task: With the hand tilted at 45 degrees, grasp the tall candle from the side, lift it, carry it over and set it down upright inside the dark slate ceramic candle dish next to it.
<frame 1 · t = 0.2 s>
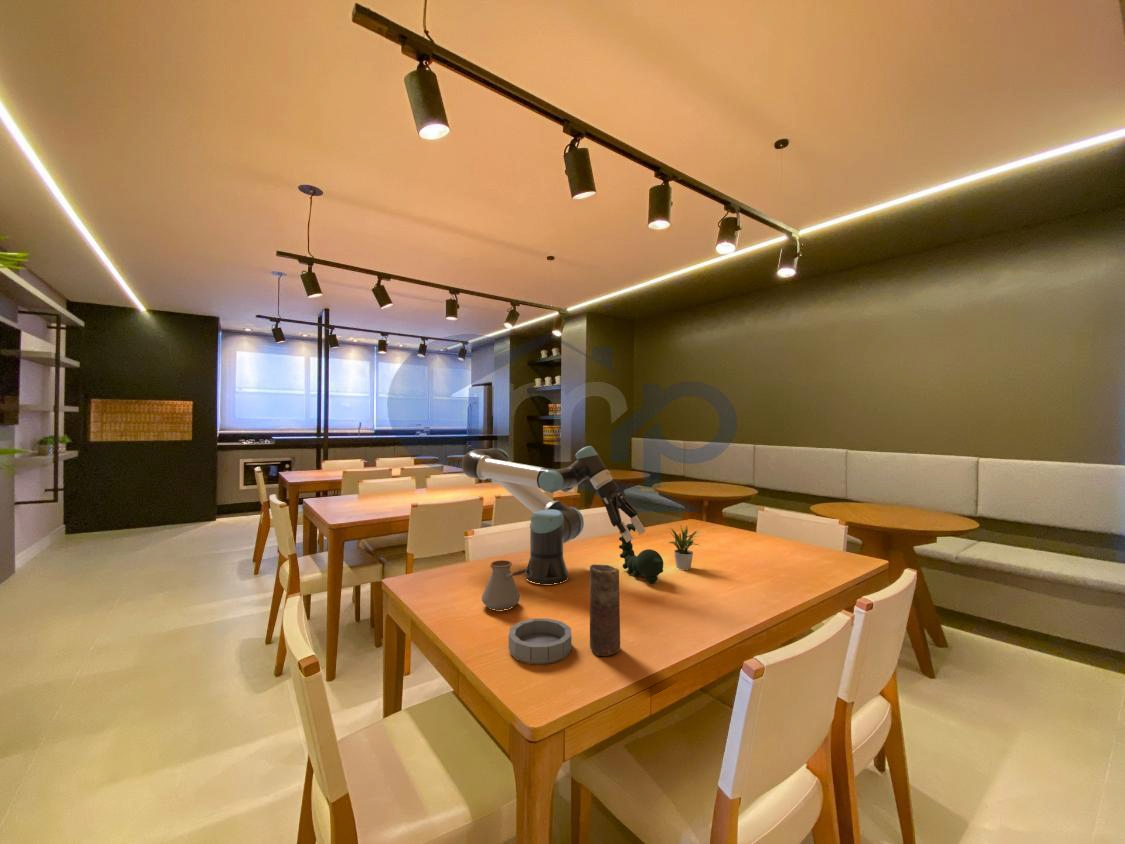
hand: (636, 536, 156), 16 cm above the table, tool tilted 35°, fingers open, 13 cm apart
house plant: (685, 569, 170), on the table
candle: (604, 650, 108), on the table
coffee pot: (509, 612, 129), on the table
toy figurine: (641, 577, 160), on the table
candle dish: (540, 648, 108), on the table
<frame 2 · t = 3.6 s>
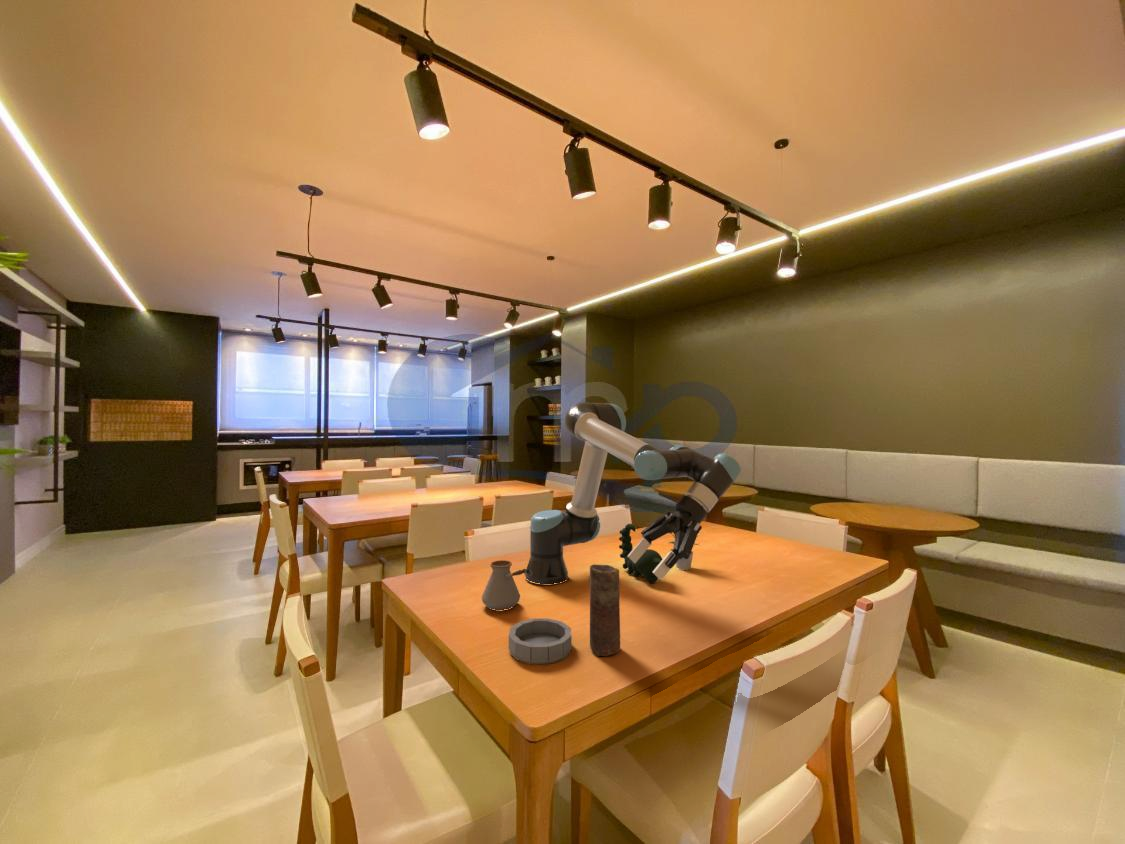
hand: (643, 567, 111), 19 cm above the table, tool tilted 45°, fingers open, 13 cm apart
nothing on the table moved.
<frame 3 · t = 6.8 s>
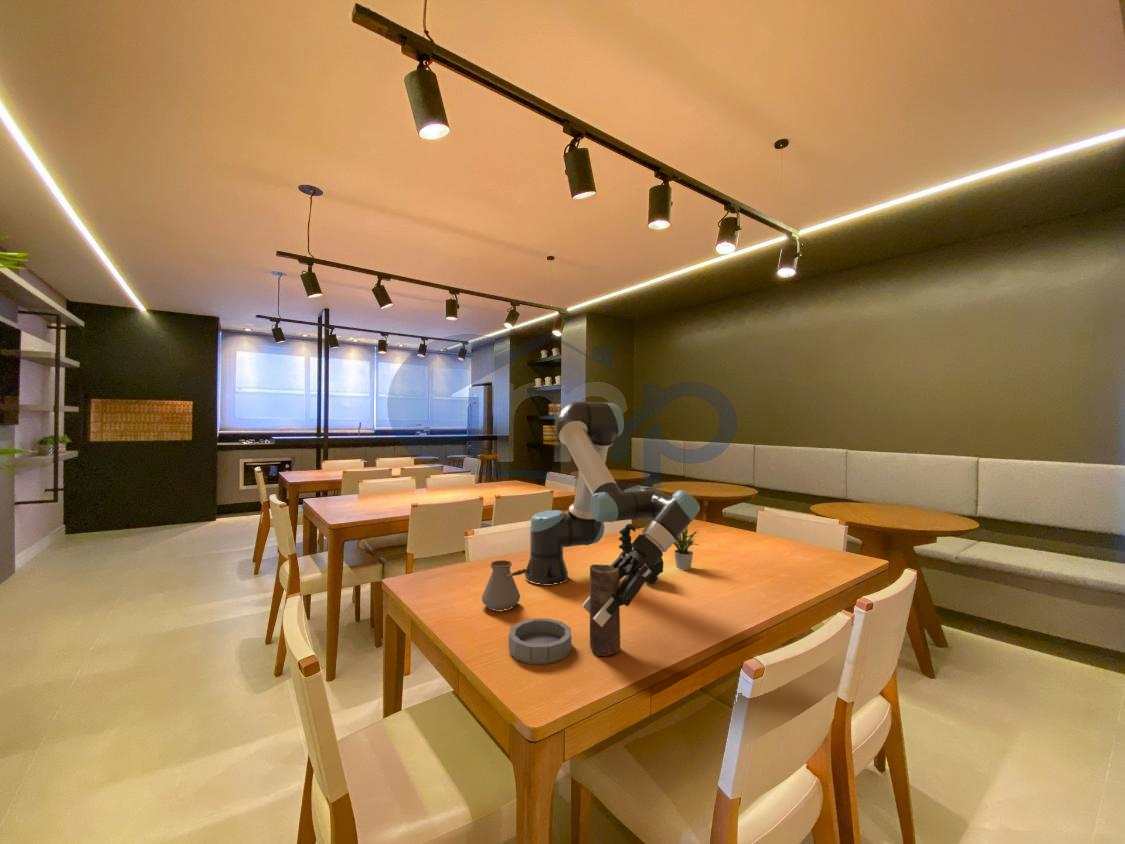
hand: (591, 615, 107), 9 cm above the table, tool tilted 45°, fingers closed on candle, 7 cm apart
candle: (604, 650, 108), on the table, touching gripper
everything else where it was.
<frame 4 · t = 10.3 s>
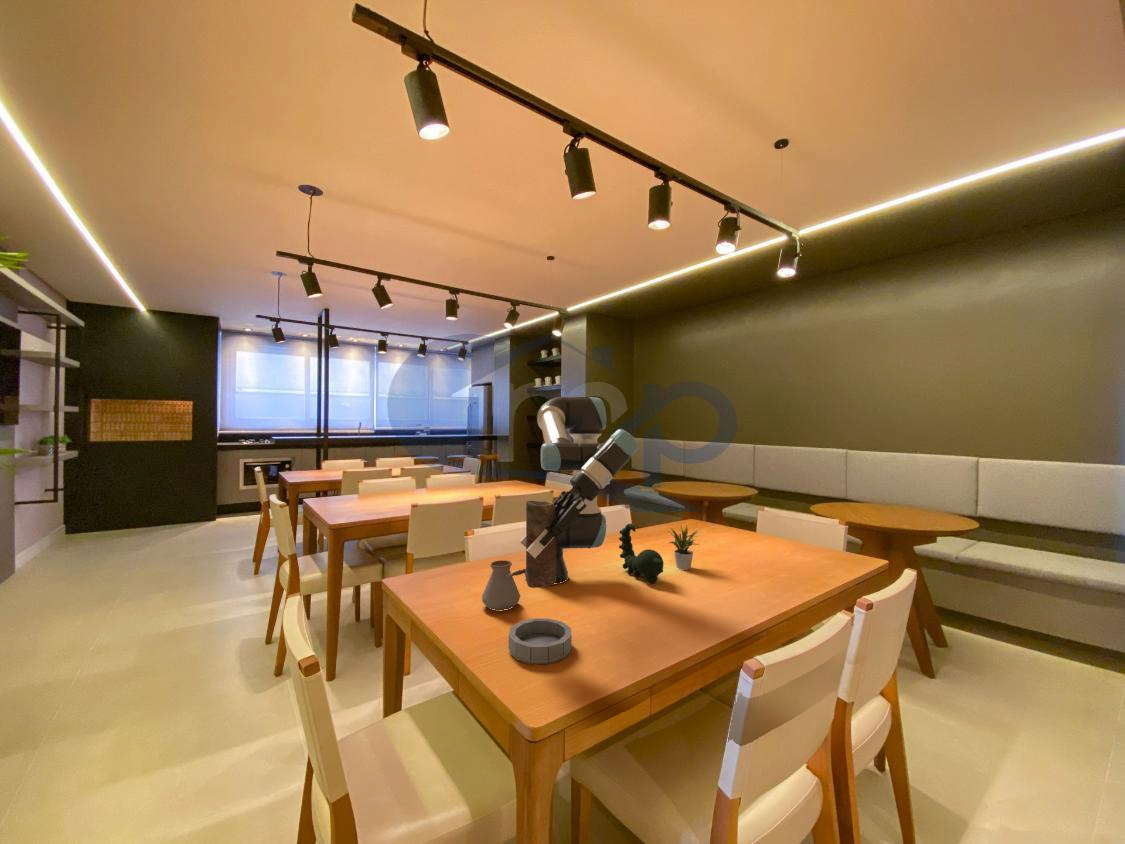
hand: (527, 549, 107), 24 cm above the table, tool tilted 45°, fingers closed on candle, 7 cm apart
candle: (540, 584, 108), point 15 cm above the table, touching gripper
everything else where it was.
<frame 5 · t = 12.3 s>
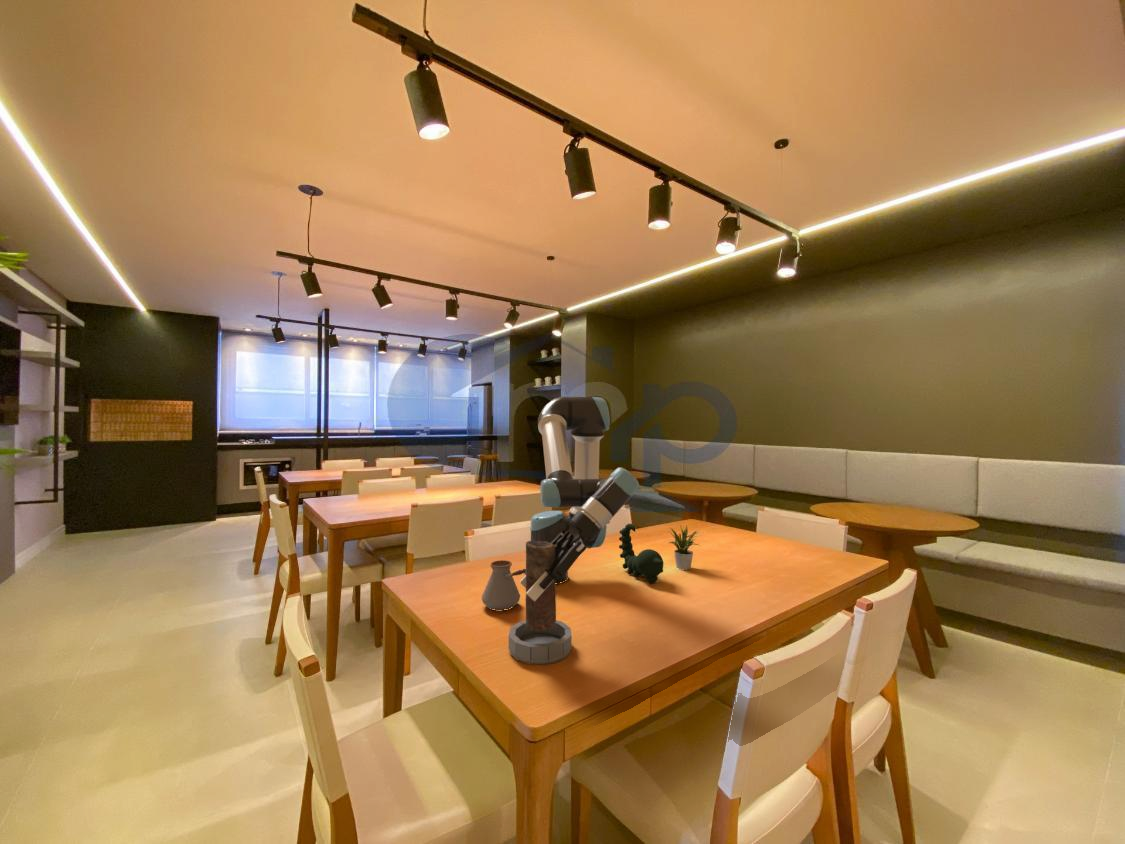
hand: (526, 591, 107), 14 cm above the table, tool tilted 45°, fingers closed on candle, 7 cm apart
candle: (540, 626, 108), point 6 cm above the table, touching gripper
everything else where it was.
when the fingers open (11 cm above the table, at t = 13.7 s): candle drops 1 cm, resting on candle dish.
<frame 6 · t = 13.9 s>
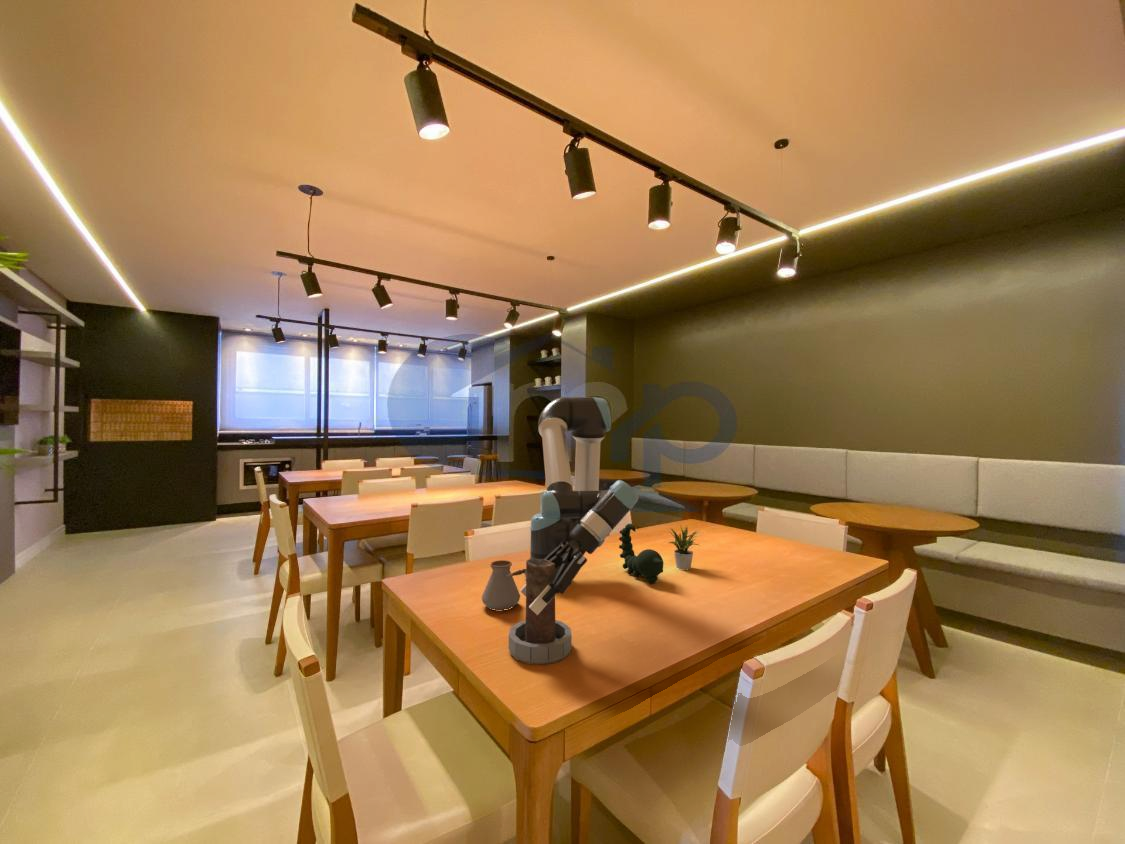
hand: (528, 602, 107), 11 cm above the table, tool tilted 45°, fingers open, 10 cm apart
candle: (540, 644, 109), point 1 cm above the table, touching candle dish
everything else where it was.
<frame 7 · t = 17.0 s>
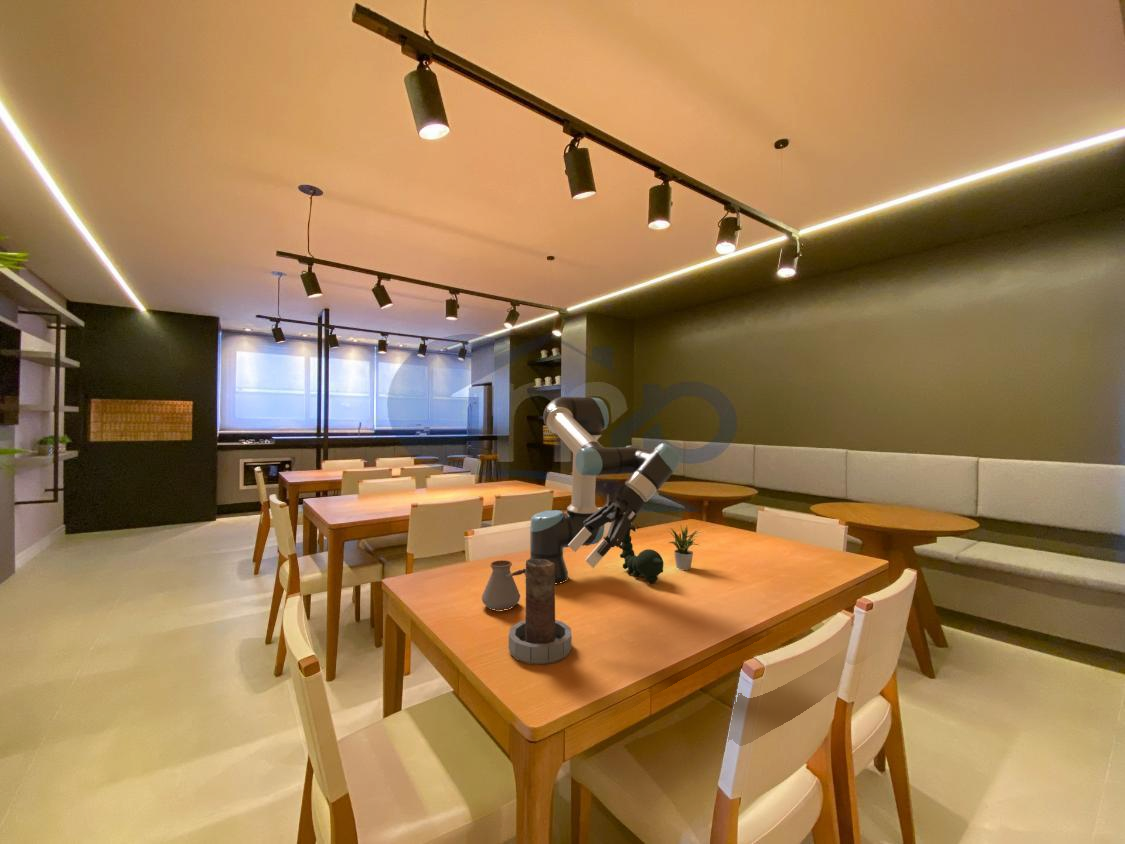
hand: (579, 556, 111), 22 cm above the table, tool tilted 45°, fingers open, 13 cm apart
nothing on the table moved.
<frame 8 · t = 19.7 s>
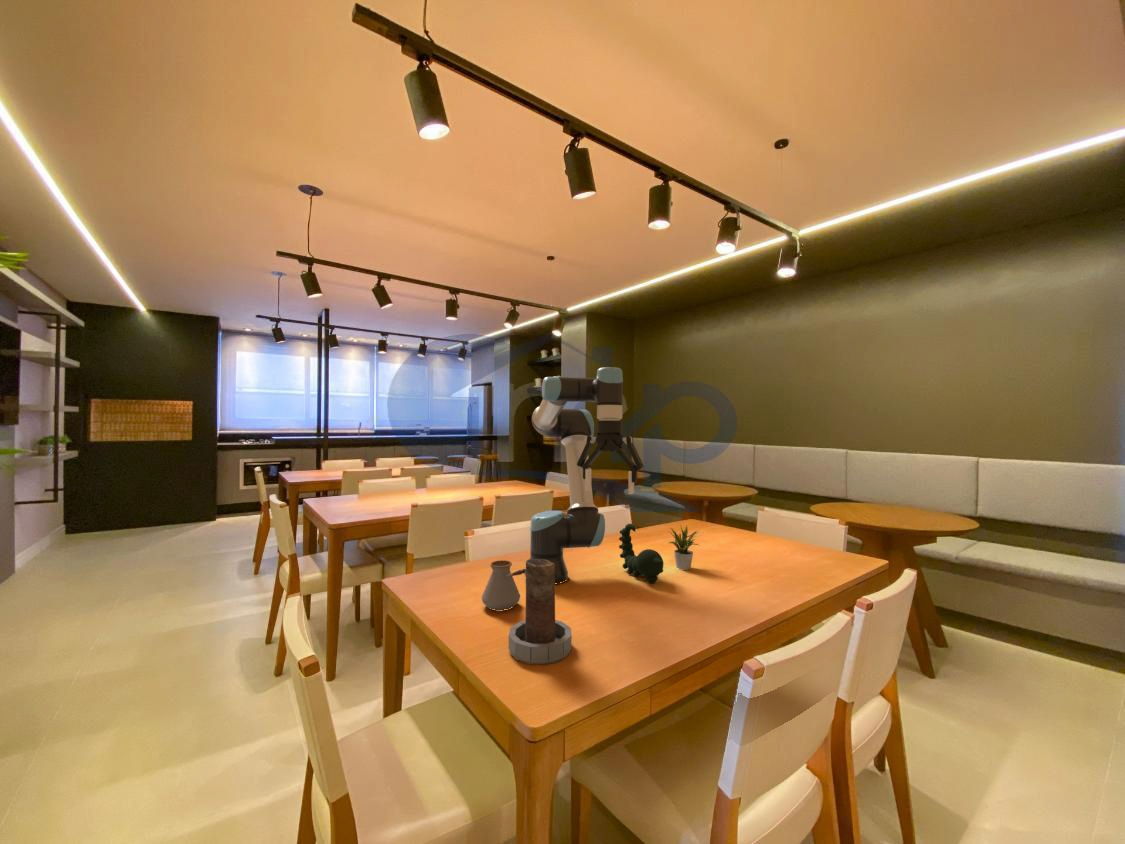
hand: (609, 492, 131), 35 cm above the table, tool pointing down, fingers open, 13 cm apart
nothing on the table moved.
at the end: candle 0.4 cm off-centre on the candle dish, point 0.8 cm above the candle dish's base; candle tilted 0°; the gripper is holding nothing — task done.
